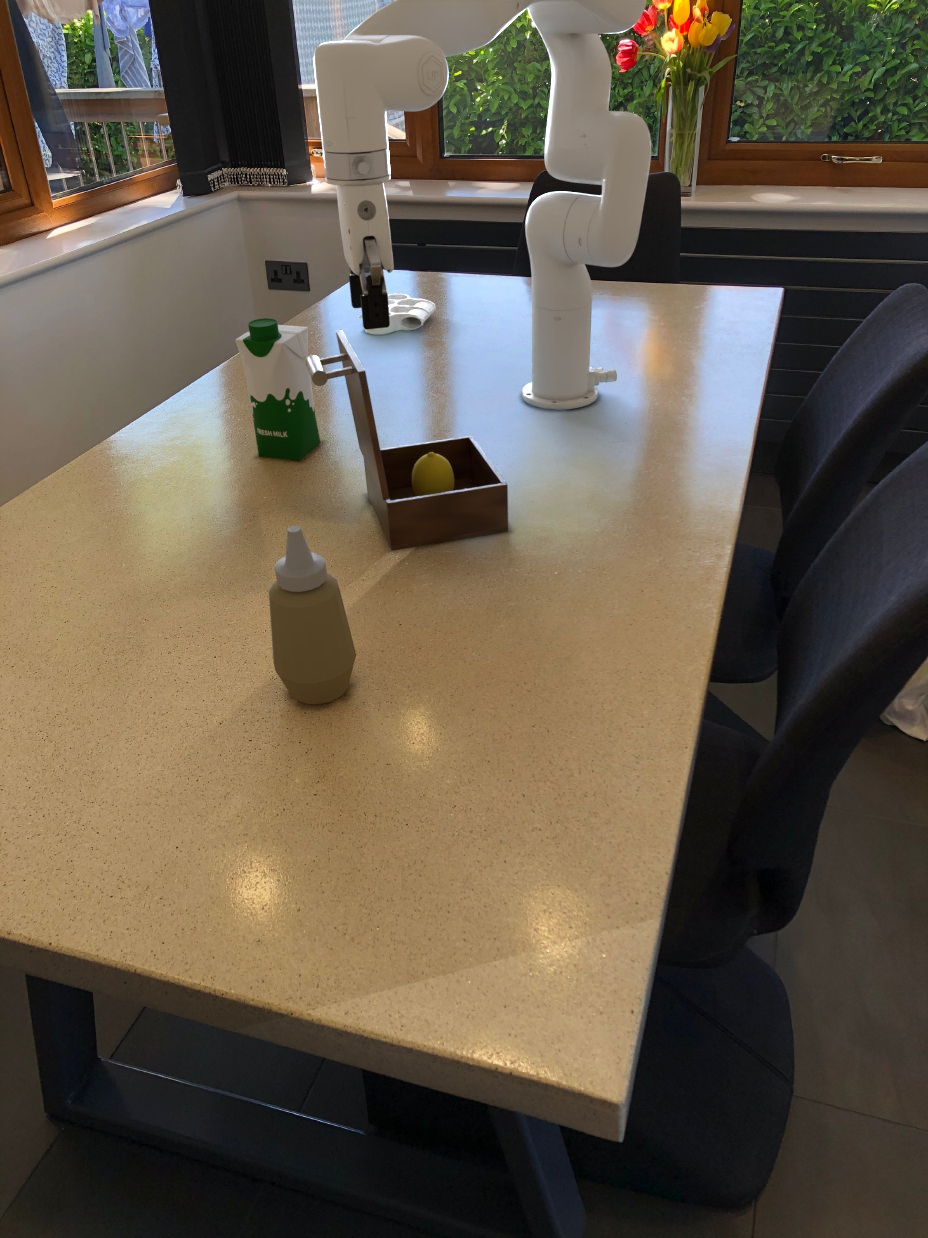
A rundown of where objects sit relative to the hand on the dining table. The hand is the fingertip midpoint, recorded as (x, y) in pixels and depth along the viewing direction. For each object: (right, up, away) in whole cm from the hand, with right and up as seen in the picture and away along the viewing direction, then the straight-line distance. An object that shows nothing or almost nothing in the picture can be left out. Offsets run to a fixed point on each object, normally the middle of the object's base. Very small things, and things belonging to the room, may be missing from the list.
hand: (370, 316), depth 116 cm
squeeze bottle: (-3, -45, -24) cm, 51 cm away
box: (+8, -24, +6) cm, 26 cm away
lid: (0, -13, -4) cm, 13 cm away
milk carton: (-15, -12, +25) cm, 32 cm away
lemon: (+8, -23, +6) cm, 26 cm away
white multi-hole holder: (-3, +25, +79) cm, 82 cm away
